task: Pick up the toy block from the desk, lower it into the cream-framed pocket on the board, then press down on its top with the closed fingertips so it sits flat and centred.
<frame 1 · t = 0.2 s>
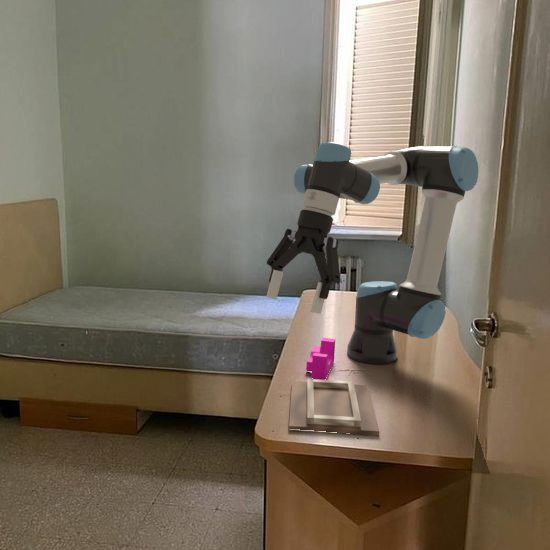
hand: (292, 305, 119), 28 cm above the table, tool tilted 20°, fingers open, 13 cm apart
toy block: (318, 371, 153), on the table
locating board: (331, 408, 131), on the table
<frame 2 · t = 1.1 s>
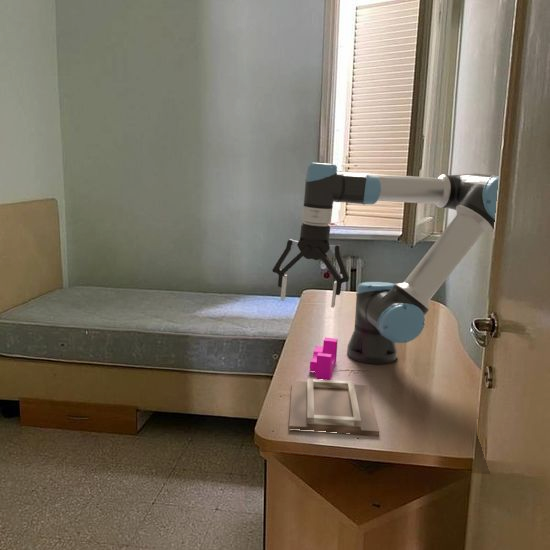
hand: (307, 302, 143), 22 cm above the table, tool pointing down, fingers open, 13 cm apart
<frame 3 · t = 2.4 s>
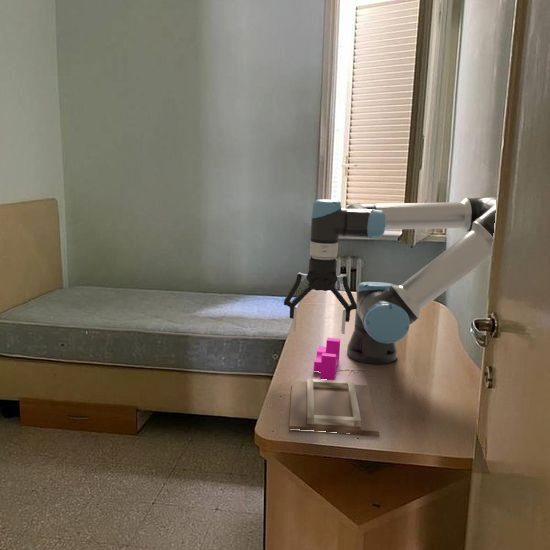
hand: (318, 331, 151), 12 cm above the table, tool pointing down, fingers open, 13 cm apart
toy block: (325, 371, 154), on the table
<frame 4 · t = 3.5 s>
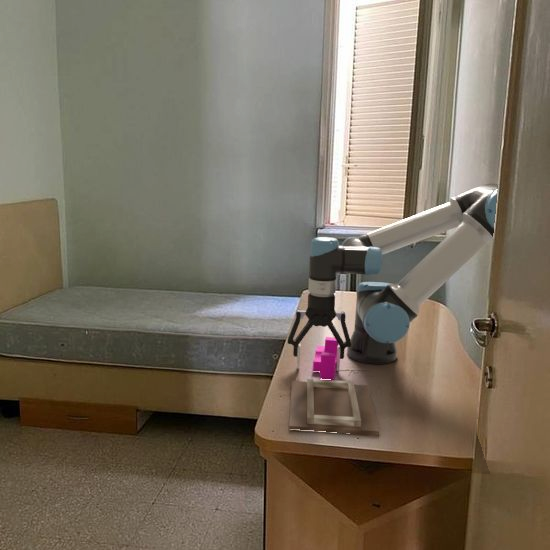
hand: (317, 367, 153), 1 cm above the table, tool pointing down, fingers open, 11 cm apart
nothing on the table moved.
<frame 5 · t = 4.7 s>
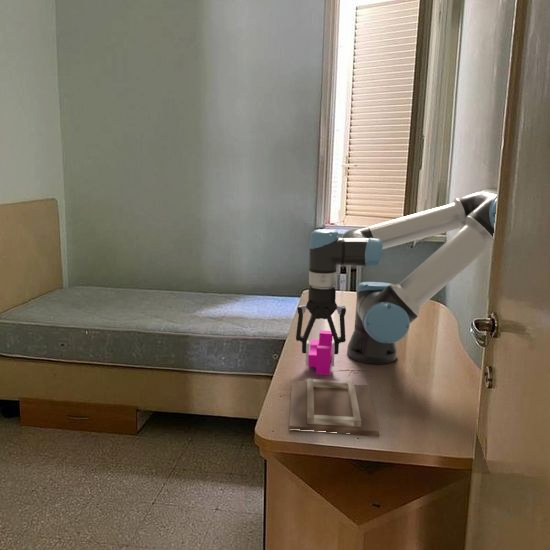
hand: (319, 363, 153), 2 cm above the table, tool pointing down, fingers closed on toy block, 6 cm apart
toy block: (319, 364, 154), point 1 cm above the table, touching gripper
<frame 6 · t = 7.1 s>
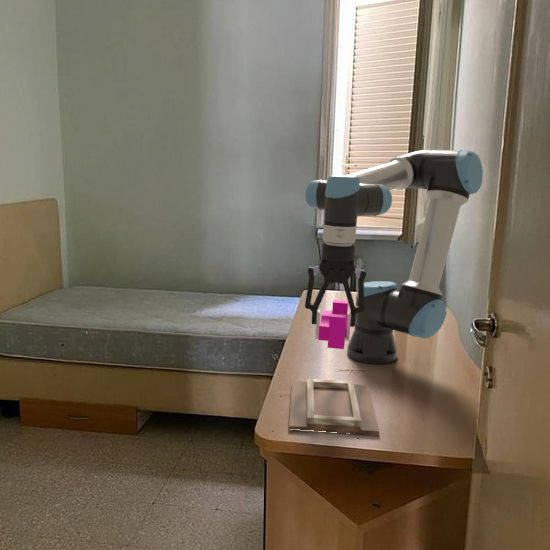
hand: (332, 337, 129), 17 cm above the table, tool pointing down, fingers closed on toy block, 6 cm apart
toy block: (332, 338, 130), point 17 cm above the table, touching gripper
when the fingers open (4 cm above the table, at t = 9.3 s): toy block drops 2 cm, resting on locating board.
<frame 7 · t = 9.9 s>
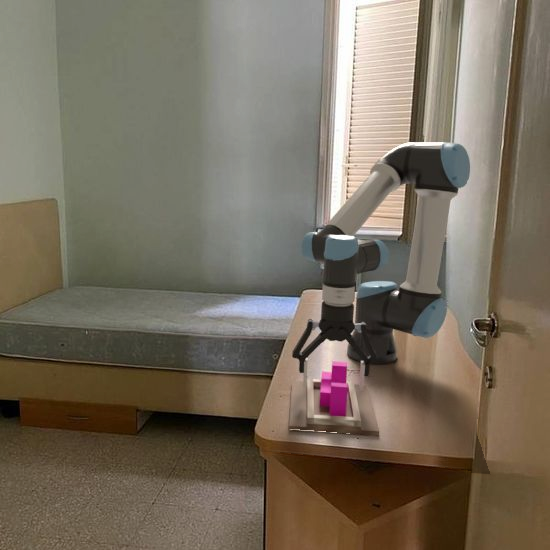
hand: (332, 386, 130), 6 cm above the table, tool pointing down, fingers open, 13 cm apart
toy block: (332, 402, 132), point 1 cm above the table, touching locating board
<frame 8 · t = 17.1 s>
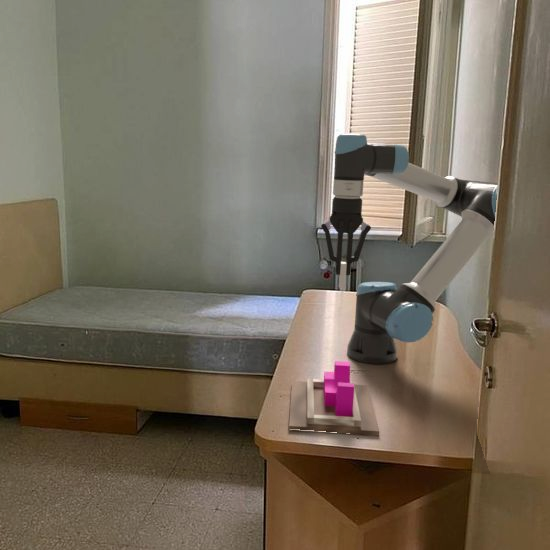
hand: (341, 286, 141), 26 cm above the table, tool pointing down, fingers closed
toy block: (337, 402, 132), point 1 cm above the table, touching locating board
at the end: toy block 2.1 cm off-centre on the locating board, point 1.0 cm above the locating board's base; toy block tilted 0°; the gripper is holding nothing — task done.
